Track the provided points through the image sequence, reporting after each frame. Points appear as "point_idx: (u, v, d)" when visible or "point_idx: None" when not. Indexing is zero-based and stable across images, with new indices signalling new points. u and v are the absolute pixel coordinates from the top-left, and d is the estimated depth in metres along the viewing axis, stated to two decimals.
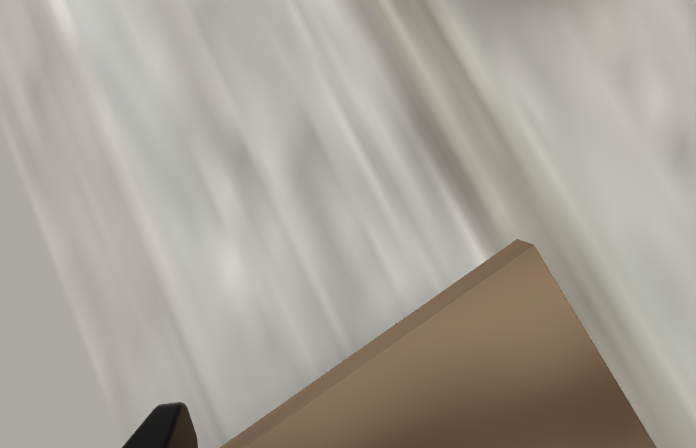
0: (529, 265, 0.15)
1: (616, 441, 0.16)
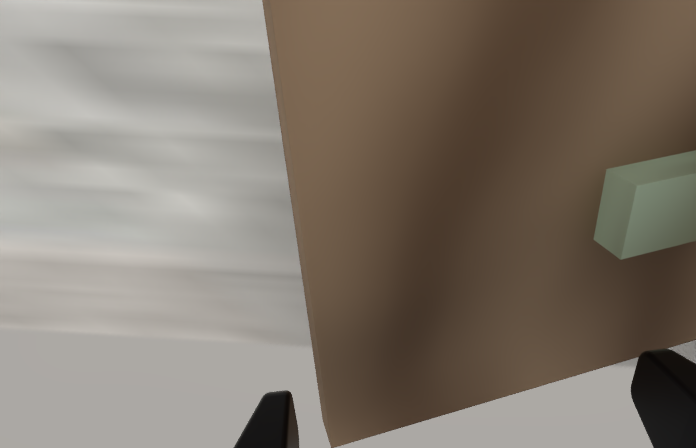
0: None
1: None
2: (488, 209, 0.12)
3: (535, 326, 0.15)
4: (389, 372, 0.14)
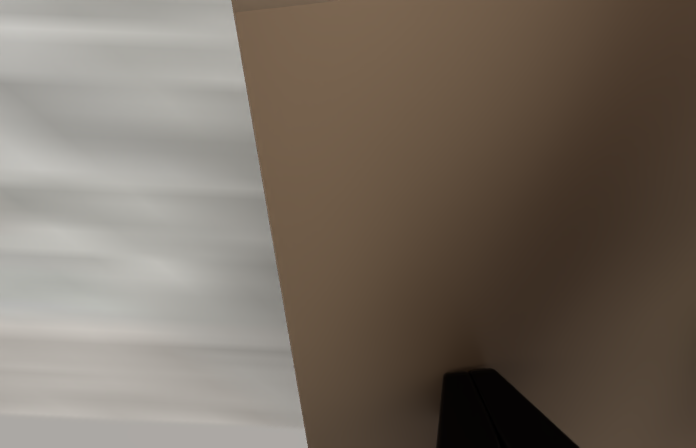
0: (281, 49, 0.05)
1: None
2: (570, 338, 0.09)
3: None
4: None
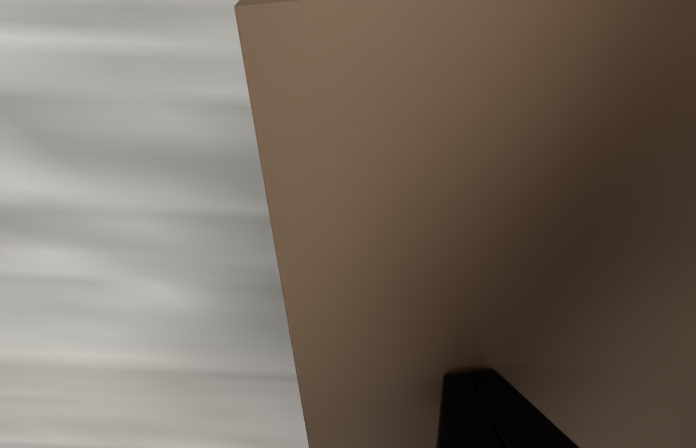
0: (278, 42, 0.06)
1: None
2: (576, 350, 0.08)
3: None
4: None
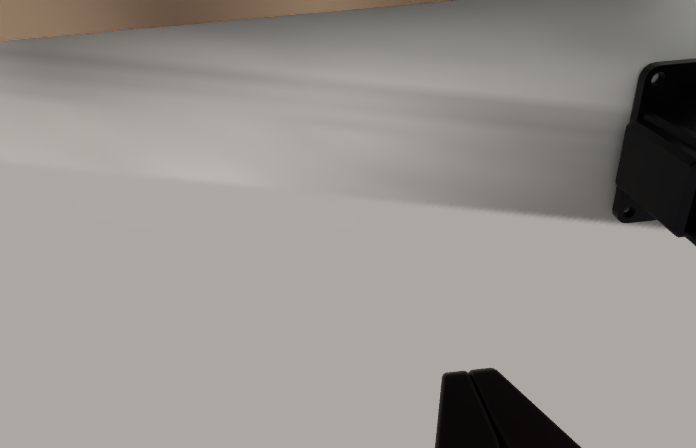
0: None
1: None
2: None
3: None
4: None
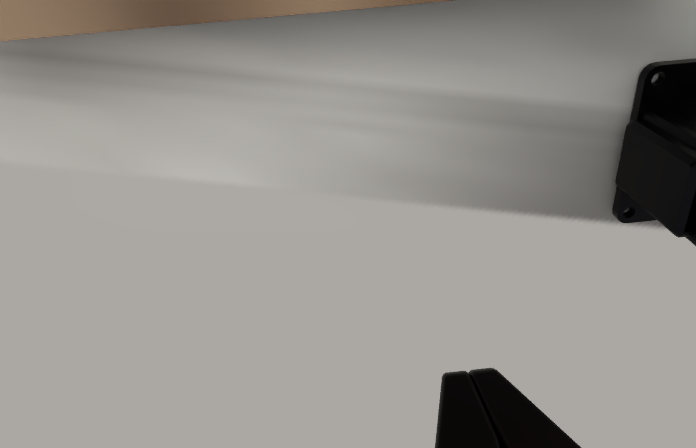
0: None
1: None
2: None
3: None
4: None
